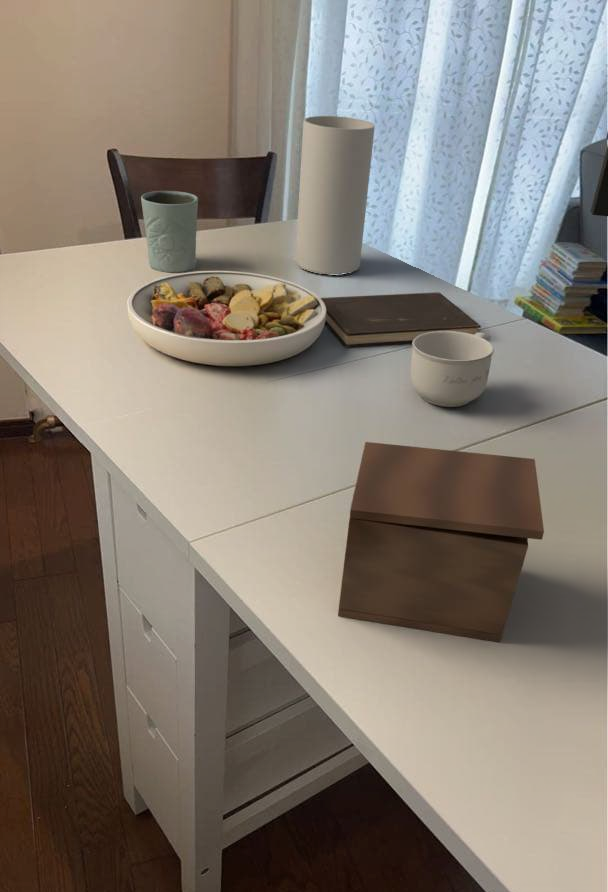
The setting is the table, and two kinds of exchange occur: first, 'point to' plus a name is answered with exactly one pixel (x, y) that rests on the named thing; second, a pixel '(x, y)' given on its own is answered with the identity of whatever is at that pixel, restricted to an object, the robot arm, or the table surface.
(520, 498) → the lid
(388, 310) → the hardcover book
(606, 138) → the robot arm
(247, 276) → the bowl
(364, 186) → the cylinder vase
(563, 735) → the table surface
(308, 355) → the table surface
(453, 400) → the teacup
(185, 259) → the green embossed cup
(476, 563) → the box
